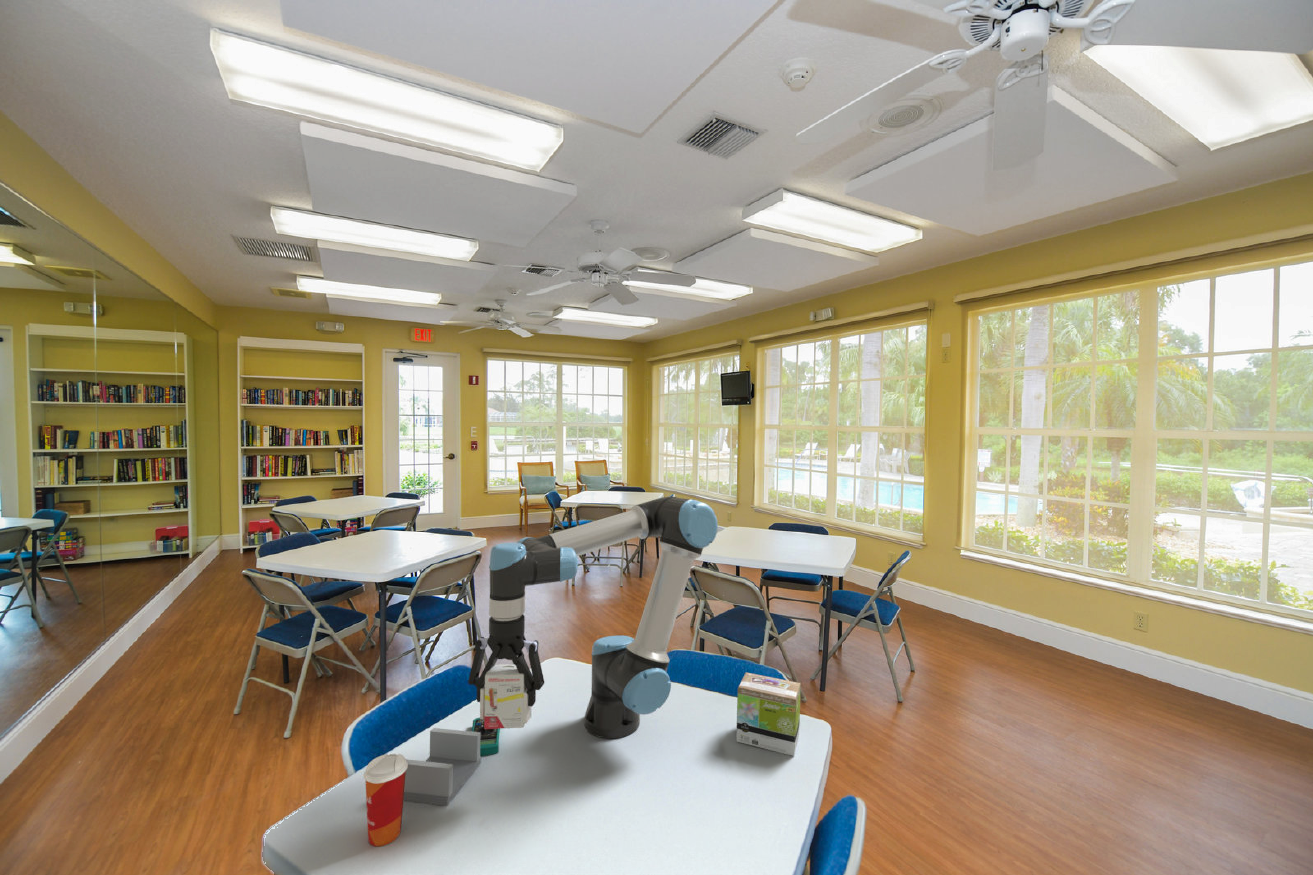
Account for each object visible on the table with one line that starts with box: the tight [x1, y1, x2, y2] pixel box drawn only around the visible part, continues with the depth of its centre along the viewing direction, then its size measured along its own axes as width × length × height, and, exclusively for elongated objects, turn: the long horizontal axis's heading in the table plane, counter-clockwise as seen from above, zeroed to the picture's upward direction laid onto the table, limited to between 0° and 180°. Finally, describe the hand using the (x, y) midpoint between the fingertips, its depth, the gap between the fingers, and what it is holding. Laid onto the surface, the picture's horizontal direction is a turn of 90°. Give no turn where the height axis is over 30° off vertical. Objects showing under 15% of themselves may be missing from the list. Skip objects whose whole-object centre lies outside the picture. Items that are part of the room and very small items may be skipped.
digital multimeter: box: [471, 717, 501, 757], centre depth 135 cm, size 7×15×3 cm, turn 14°
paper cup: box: [363, 753, 408, 847], centre depth 102 cm, size 8×8×14 cm
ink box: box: [484, 663, 526, 730], centre depth 114 cm, size 9×5×12 cm, turn 94°
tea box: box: [736, 672, 802, 757], centre depth 137 cm, size 15×10×15 cm, turn 68°
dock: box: [403, 727, 482, 807], centre depth 118 cm, size 12×15×8 cm
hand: (505, 718), depth 114 cm, fingers closed on ink box, 9 cm apart
